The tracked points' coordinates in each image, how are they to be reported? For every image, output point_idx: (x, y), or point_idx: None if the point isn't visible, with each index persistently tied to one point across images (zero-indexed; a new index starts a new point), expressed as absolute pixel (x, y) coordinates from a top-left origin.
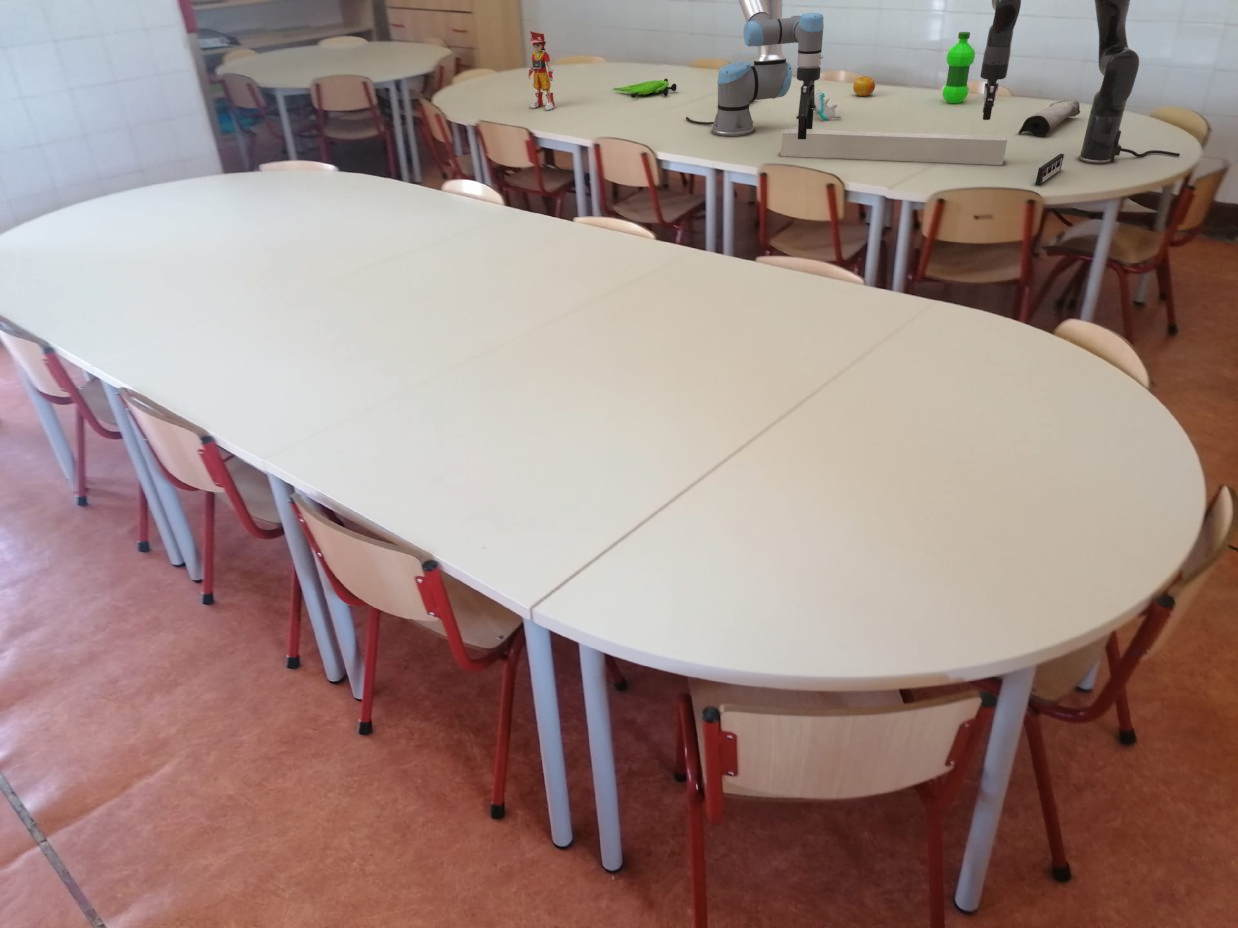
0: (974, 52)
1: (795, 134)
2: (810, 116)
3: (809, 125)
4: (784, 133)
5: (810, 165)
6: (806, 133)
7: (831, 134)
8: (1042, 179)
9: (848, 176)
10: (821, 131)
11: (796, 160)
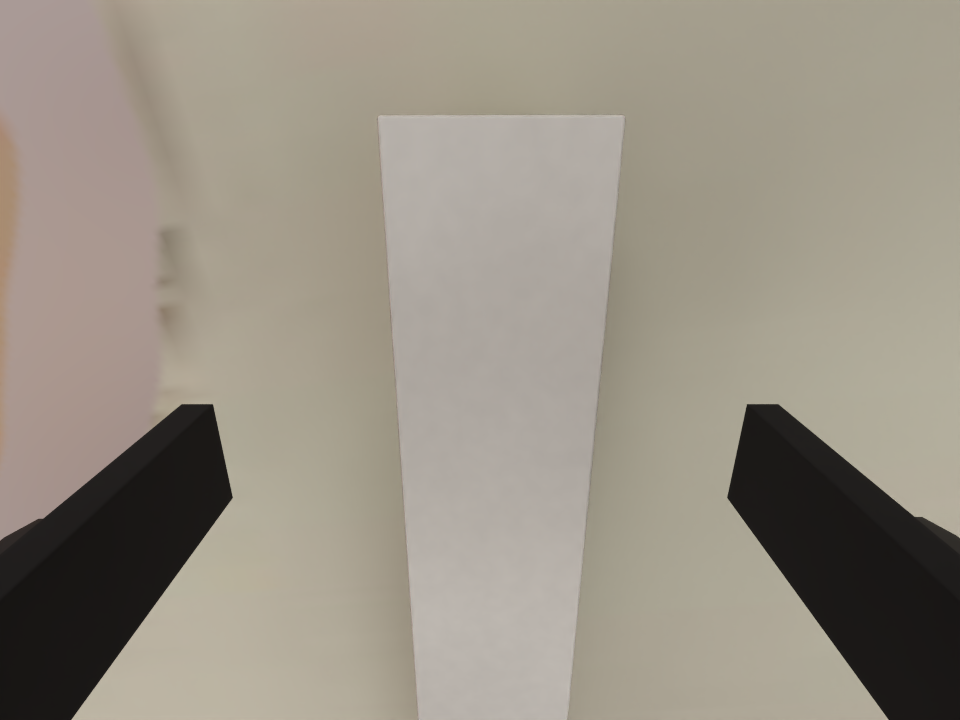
0: None
1: (395, 346)
2: (846, 609)
3: (763, 498)
4: (384, 168)
5: (220, 438)
6: (406, 492)
7: (420, 717)
8: None
9: None
10: (525, 631)
11: (323, 311)
